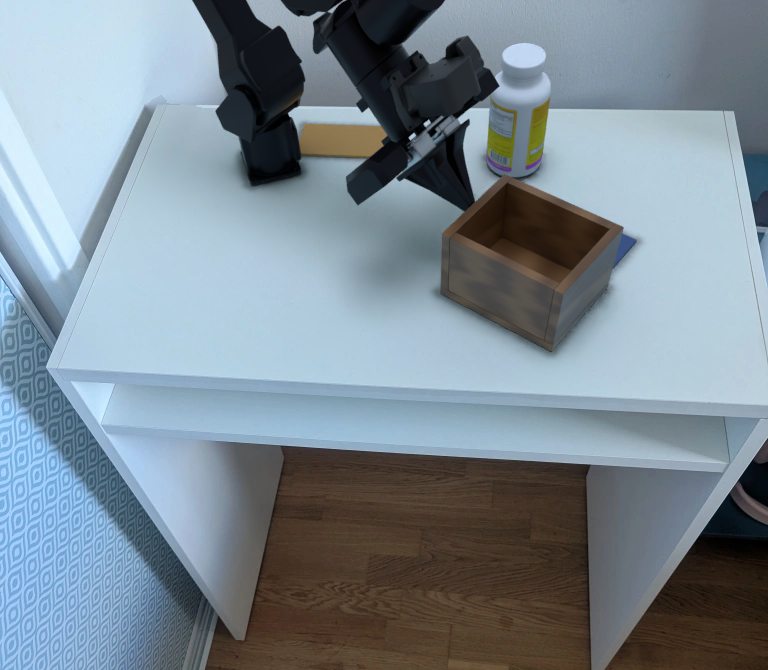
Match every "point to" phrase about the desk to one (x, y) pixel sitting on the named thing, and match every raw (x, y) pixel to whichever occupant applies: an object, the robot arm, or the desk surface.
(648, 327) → the desk surface
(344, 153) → the tan cloth
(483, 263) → the crate
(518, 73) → the supplement bottle
